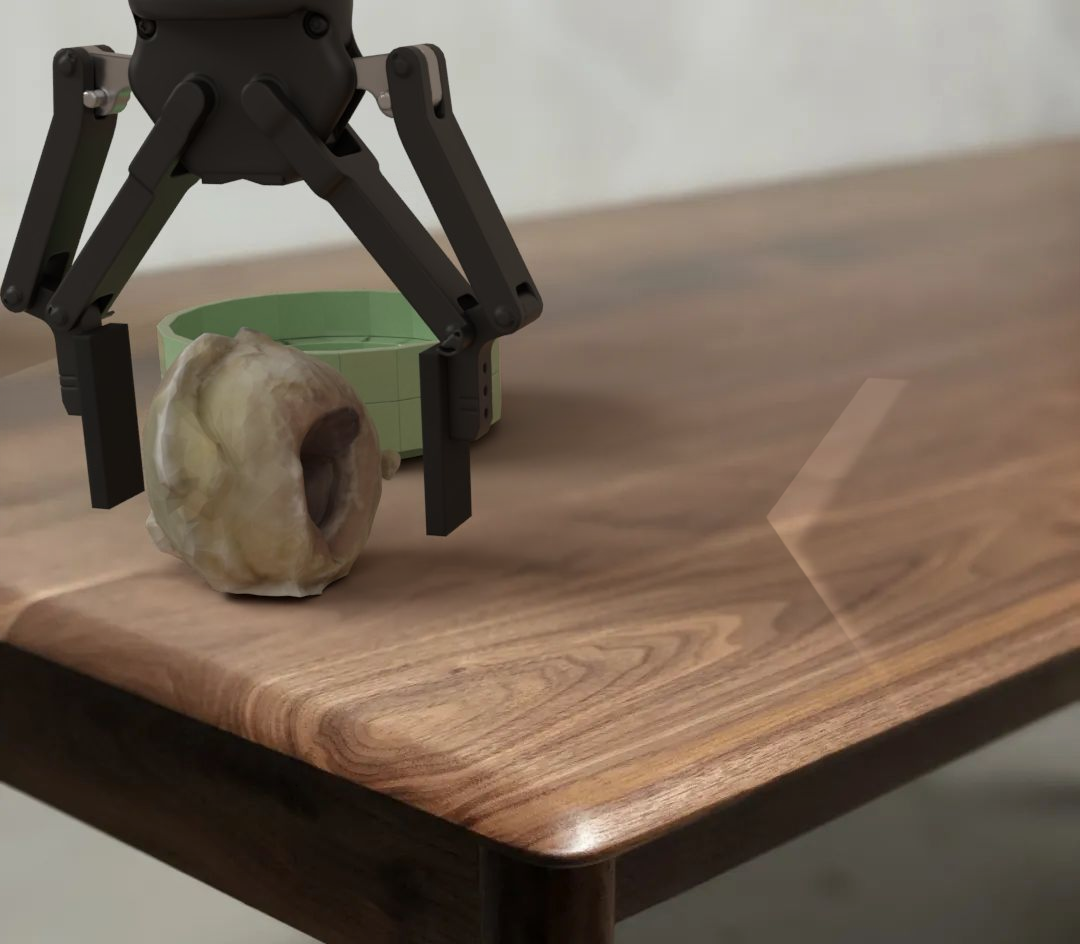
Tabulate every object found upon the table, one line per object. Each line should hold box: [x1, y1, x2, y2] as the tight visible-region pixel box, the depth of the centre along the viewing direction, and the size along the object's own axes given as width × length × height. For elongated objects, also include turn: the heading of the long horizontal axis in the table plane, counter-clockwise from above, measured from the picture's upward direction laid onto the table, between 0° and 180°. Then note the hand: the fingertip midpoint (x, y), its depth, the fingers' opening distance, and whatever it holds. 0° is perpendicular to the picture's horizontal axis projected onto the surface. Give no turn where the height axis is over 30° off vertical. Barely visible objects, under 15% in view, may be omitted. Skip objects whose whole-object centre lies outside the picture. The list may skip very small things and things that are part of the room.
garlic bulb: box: [142, 327, 402, 598], centre depth 68 cm, size 9×8×10 cm
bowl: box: [156, 288, 503, 460], centre depth 89 cm, size 16×16×6 cm
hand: (279, 513), depth 69 cm, fingers open, 13 cm apart
